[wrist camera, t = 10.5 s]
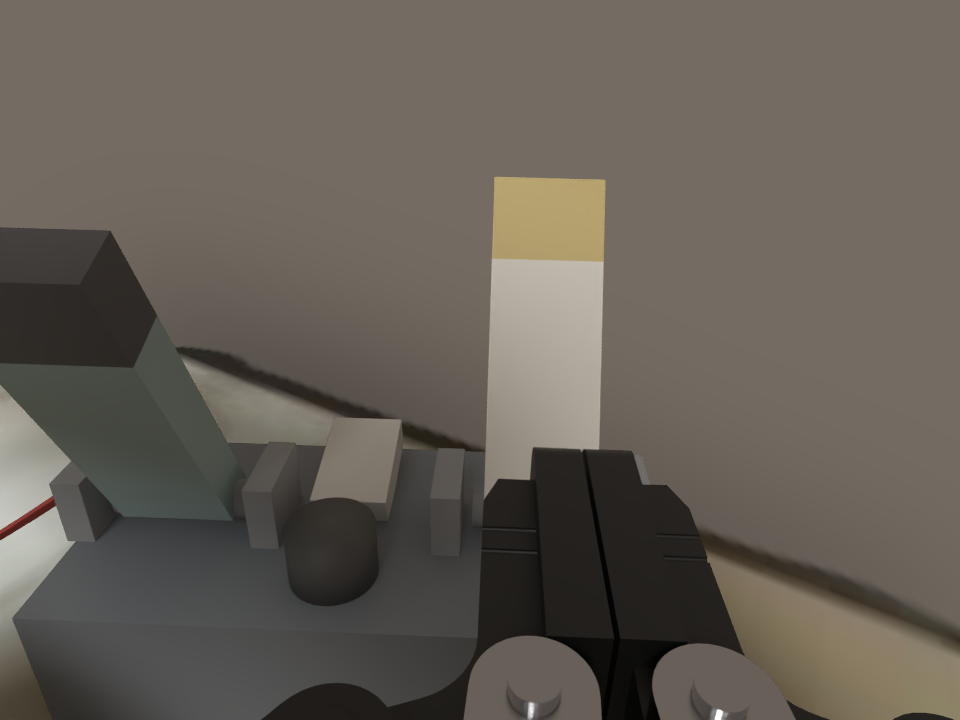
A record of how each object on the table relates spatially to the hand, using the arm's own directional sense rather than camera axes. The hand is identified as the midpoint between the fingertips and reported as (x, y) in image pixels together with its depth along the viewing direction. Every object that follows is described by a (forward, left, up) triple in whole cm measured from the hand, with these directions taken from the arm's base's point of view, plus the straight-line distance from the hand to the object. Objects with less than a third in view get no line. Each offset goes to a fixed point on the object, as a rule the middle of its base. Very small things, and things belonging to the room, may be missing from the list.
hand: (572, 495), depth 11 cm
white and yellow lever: (+1, +11, -9) cm, 15 cm away
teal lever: (-12, +11, -9) cm, 19 cm away
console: (-6, +11, -15) cm, 20 cm away
